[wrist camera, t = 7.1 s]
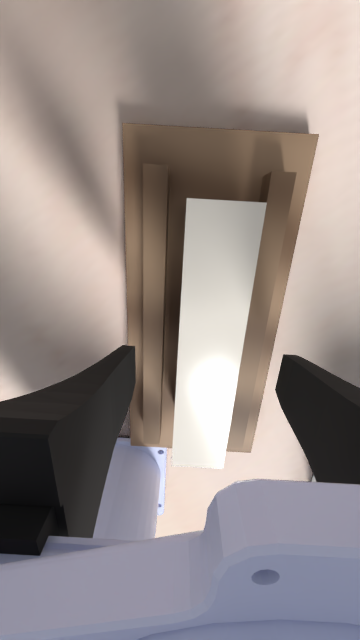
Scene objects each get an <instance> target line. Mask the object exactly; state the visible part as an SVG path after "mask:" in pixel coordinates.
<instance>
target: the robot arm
mask: <svg viewBox="0 0 360 640" xmlns="http://www.w3.org/2000/svg"><path fill="white" fill-rule="evenodd" d="M135 383H136V360H135V346H127V345H122V346H121V347H119V348H118V349H116V350H115V351H113V352H112V353H111V354H109V355H108V356H106V357H105V358H103V359H102V360H100V361H99V362H97V363H96V364H94V365H92V366H91V367H89V368H87V369H86V370H84V371H82V372H80V373H79V374H77V375H75V376H73V377H71V378H68V379H66V380H64V381H62V382H60V383H57V384H55V385H52V386H49V387H47V388H44V389H42V390H39V391H36V392H33V393H30V394H27V395H23V396H20V397H16V398H13V399H9V400H5V401H1V402H0V640H360V388H358V387H356V386H354V385H352V384H350V383H348V382H346V381H344V380H342V379H341V378H339V377H337V376H335V375H333V374H331V373H329V372H328V371H326V370H324V369H322V368H320V367H319V366H317V365H315V364H313V363H311V362H310V361H308V360H306V359H304V358H302V357H299V356H297V355H284V354H283V359H282V363H281V367H280V372H279V376H278V380H277V385H276V389H275V390H276V393H277V397H278V400H279V402H280V405H281V408H282V410H283V412H284V414H285V416H286V418H287V420H288V422H289V424H290V426H291V428H292V429H293V431H294V433H295V435H296V437H297V439H298V441H299V443H300V445H301V447H302V449H303V451H304V453H305V455H306V457H307V459H308V462H309V464H310V467H311V469H312V472H313V474H314V477H315V479H316V482H305V481H288V480H270V479H252V480H245V481H237V482H234V483H233V484H231V485H229V486H227V487H226V488H224V489H222V490H220V491H219V492H218V493H217V494H216V495H215V497H214V499H213V500H212V502H211V504H210V506H209V507H208V510H207V517H206V524H205V528H204V530H201V531H195V532H189V533H183V534H177V535H171V536H165V537H159V538H155V532H156V522H157V515H162V514H163V513H164V499H165V478H166V456H167V448H162V447H145V446H131V442H130V438H118V435H119V433H120V430H121V427H122V425H123V422H124V419H125V417H126V414H127V411H128V408H129V406H130V403H131V400H132V396H133V392H134V388H135Z"/></svg>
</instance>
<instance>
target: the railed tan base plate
mask: <svg viewBox="0 0 360 640" xmlns="http://www.w3.org/2000/svg"><path fill="white" fill-rule="evenodd" d="M122 126H123V165H124V205H125V244H126V284H127V323H128V346H135V360H136V383H135V388H134V392H133V396H132V400H131V403H130V442H131V446H145V447H162V448H172V446H173V429H174V411H175V394H176V376H177V359H178V342H179V324H180V307H181V289H182V272H183V254H184V237H185V220H186V202H187V198H194V199H211V200H228V201H246V202H263V203H267V205H266V211H265V217H264V223H263V229H262V235H261V241H260V247H259V253H258V259H257V266H256V272H255V278H254V284H253V290H252V296H251V302H250V308H249V314H248V320H247V326H246V332H245V338H244V345H243V351H242V357H241V363H240V369H239V375H238V381H237V387H236V393H235V399H234V405H233V411H232V417H231V424H230V430H229V436H228V442H227V448H226V451H230V452H247V453H251V449H252V444H253V440H254V435H255V430H256V426H257V421H258V416H259V412H260V407H261V402H262V398H263V393H264V388H265V384H266V379H267V374H268V370H269V365H270V360H271V356H272V351H273V346H274V342H275V337H276V332H277V328H278V323H279V318H280V314H281V309H282V304H283V300H284V295H285V290H286V286H287V281H288V276H289V272H290V267H291V263H292V258H293V253H294V249H295V244H296V239H297V235H298V230H299V225H300V221H301V216H302V211H303V207H304V202H305V197H306V193H307V188H308V183H309V179H310V174H311V169H312V165H313V160H314V155H315V151H316V146H317V141H318V137H319V134H305V133H287V132H270V131H252V130H235V129H218V128H200V127H183V126H165V125H148V124H131V123H122Z"/></svg>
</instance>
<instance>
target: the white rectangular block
mask: <svg viewBox="0 0 360 640" xmlns="http://www.w3.org/2000/svg"><path fill="white" fill-rule="evenodd" d="M266 205H267V203H263V202H246V201H228V200H211V199H194V198H187V202H186V220H185V237H184V254H183V272H182V289H181V307H180V324H179V342H178V359H177V376H176V394H175V411H174V429H173V446H172V464H171V466H181V467H198V468H215V469H223V466H224V460H225V454H226V448H227V442H228V436H229V430H230V424H231V417H232V411H233V405H234V399H235V393H236V387H237V381H238V375H239V369H240V363H241V357H242V351H243V345H244V338H245V332H246V326H247V320H248V314H249V308H250V302H251V296H252V290H253V284H254V278H255V272H256V266H257V259H258V253H259V247H260V241H261V235H262V229H263V223H264V217H265V211H266Z"/></svg>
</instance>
